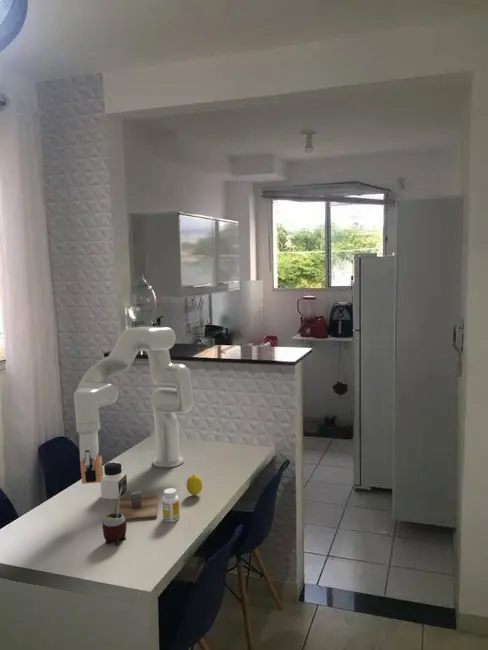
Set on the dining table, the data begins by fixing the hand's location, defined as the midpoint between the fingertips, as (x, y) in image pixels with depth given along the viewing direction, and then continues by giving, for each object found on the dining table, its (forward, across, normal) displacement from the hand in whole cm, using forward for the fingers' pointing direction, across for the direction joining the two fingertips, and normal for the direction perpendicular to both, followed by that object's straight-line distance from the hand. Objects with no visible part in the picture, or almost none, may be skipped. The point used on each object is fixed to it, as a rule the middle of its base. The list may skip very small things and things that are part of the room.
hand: (92, 476), depth 189 cm
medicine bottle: (+14, -14, +5) cm, 21 cm away
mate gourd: (+13, +18, +9) cm, 24 cm away
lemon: (+14, -8, +34) cm, 37 cm away
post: (+14, -2, +14) cm, 19 cm away
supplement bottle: (+14, +7, +26) cm, 30 cm away
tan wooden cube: (+1, 0, 0) cm, 1 cm away
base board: (+14, -2, +14) cm, 19 cm away
